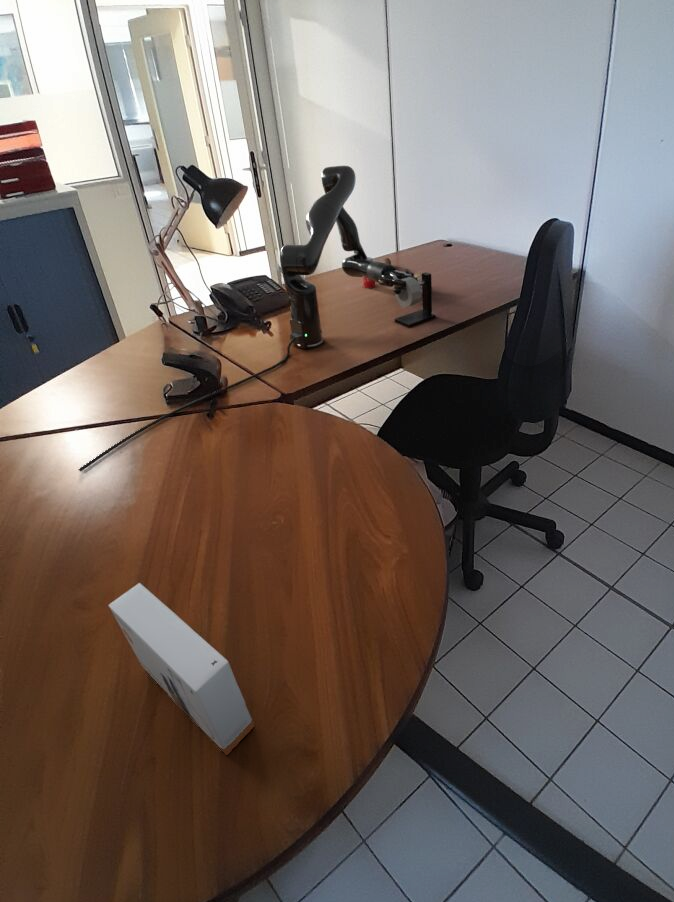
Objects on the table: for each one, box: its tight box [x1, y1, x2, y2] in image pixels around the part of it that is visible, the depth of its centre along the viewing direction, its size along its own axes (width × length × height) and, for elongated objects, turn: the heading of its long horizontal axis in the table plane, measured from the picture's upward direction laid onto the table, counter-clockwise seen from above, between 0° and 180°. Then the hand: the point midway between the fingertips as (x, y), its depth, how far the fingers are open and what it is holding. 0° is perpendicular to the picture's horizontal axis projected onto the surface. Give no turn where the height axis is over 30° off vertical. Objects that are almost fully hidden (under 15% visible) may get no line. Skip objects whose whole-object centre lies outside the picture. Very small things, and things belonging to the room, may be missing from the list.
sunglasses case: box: [380, 257, 392, 265], centre depth 254 cm, size 18×7×7 cm
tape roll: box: [393, 277, 422, 308], centre depth 194 cm, size 5×10×10 cm, turn 40°
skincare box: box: [108, 582, 253, 749], centre depth 75 cm, size 21×5×16 cm, turn 52°
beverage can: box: [362, 256, 376, 289], centre depth 234 cm, size 5×5×12 cm
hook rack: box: [393, 272, 437, 329], centre depth 197 cm, size 16×8×16 cm, turn 130°
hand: (411, 282), depth 191 cm, fingers closed on tape roll, 4 cm apart
